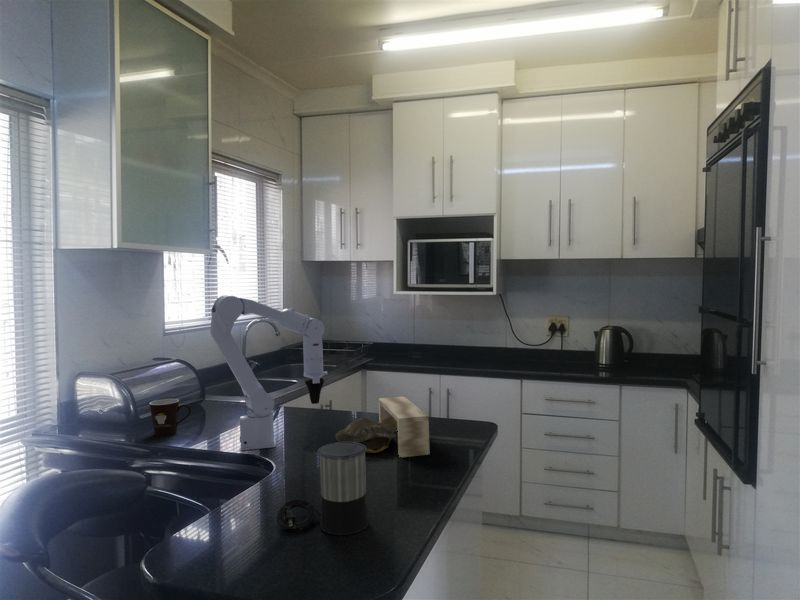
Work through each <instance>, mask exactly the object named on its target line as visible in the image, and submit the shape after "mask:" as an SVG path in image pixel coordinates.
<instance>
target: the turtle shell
mask: <svg viewBox="0 0 800 600" xmlns="http://www.w3.org/2000/svg"><path fill="white" fill-rule="evenodd" d="M334 438H335V439H336V440H337V442H345V441H346V442H356V443H360V444H363V445H365V446H366V451H365V453H370V454H377V453H380V452H382V451H384V450H385V449H387V448H390V446H389V444H390V443H391V442H392V440H394V439H395V438H397V433H396V432H393V431H392V430H391V429H390V428H389V427H388V426H386V425H384V424H382V423H380V422H379V421H377V420H375V419H372V418H368V417H360V418H357V419H354V421H352V422H350V423H349V424H347V425H346V426H345V428H344V429H341V430H338V431H337V433H335V435H334Z"/></svg>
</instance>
